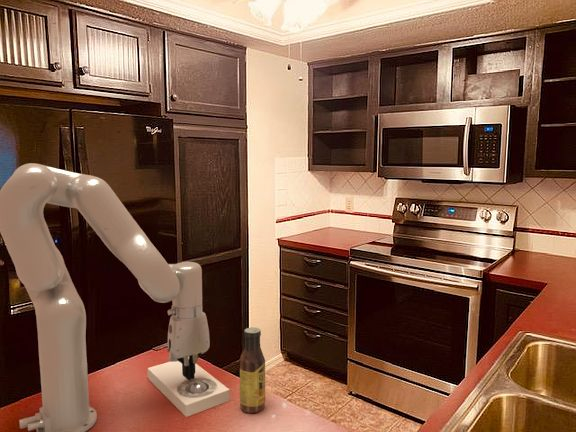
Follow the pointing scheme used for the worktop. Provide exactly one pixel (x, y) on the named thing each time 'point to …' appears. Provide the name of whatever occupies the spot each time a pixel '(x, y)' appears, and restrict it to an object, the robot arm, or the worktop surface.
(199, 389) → the ball
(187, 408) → the deck
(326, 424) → the worktop surface
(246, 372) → the sauce bottle
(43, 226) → the robot arm
